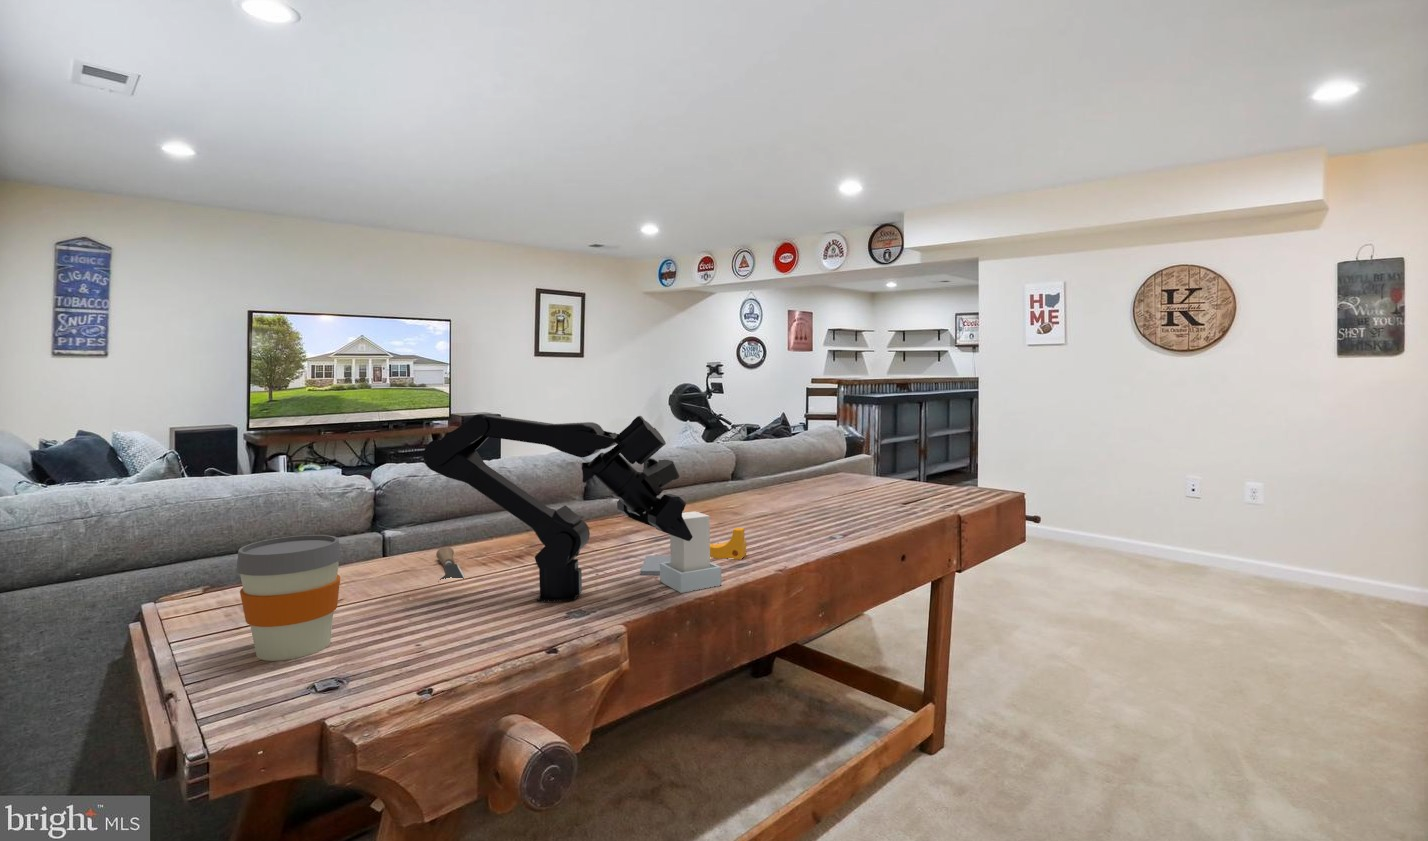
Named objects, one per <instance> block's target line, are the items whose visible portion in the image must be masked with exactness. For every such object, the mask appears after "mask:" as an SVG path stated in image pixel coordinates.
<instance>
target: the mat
mask: <svg viewBox="0 0 1428 841" xmlns="http://www.w3.org/2000/svg"><path fill="white" fill-rule="evenodd" d="M665 562H670V555H663V554H662V555H646V556H645V558H644V560H643V564H642V565H641V568H640V572H639V574H640V576H660V563H665Z"/></svg>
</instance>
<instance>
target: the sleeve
mask: <svg viewBox="0 0 1428 841" xmlns="http://www.w3.org/2000/svg"><path fill="white" fill-rule="evenodd" d="M659 582H661V583H662V584H664V585H665V586H668V587H669V588H671V589H673V590H675V591H677V592H678V593H680V594H682V593H683V594H684V593H689V592H693V590H695V591H698V590H699V589H700V590H704V588H706V589H710V587H711V588H715V587H714V586H716V587H720V585H721V586H722V566H720V565H718V564H715V563H713V562H711V561H710V568H707V569H701V570H695V571H689V572H683V573H681V572H679V571H677V570H675V569H673V568H671V565H670V562H665V563H660V575H659ZM700 590H699V591H700Z"/></svg>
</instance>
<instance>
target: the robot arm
mask: <svg viewBox="0 0 1428 841" xmlns="http://www.w3.org/2000/svg"><path fill="white" fill-rule="evenodd" d="M489 438H493V439H499V440H509V441H514V442H522V443H528V444H529V443H530V444H537V445H545V446H548V447H550V448H553V449H555V450H558V451H559V452H562V453H565V454H569V455H572V456H573V457H577V458H587V457H590V456H592V455H595V454H597V453H599V452H600V453H599V454H598V455H597V456H595V457H594V458H593V459H592V460H590V461H588V462H581V471H582V472H581V473H582V474H581V476H582V477H581V480H582V483H583V484H585V483H587V482H588V481H590V480H591V479H592V478H593V477H595V478H596V479H597V480H598V481H599V482H600V483H602V484H603V486H605V487H606V488H607V490H608V491H609V492H611V493H610V495H611V496H613V498H615V499H618V500H617V501H616V509H617V510H618V511H619V512H620V513H621V514H622V515H623V516H626V517H627V518H629V519H632V520H634V521H637V522H639V523H642V524H644V525H647V526H650V527H652V528H655V530H657V531H659V532H662V533H664V534H667V535H668V534H669V536H670V535H673V536H676V537H678V538H681V539H684V540H687V541H690V540H691V539H692V534H691V533H690V531H689V529H688V527H687V525H686V523H685V521H684V519H683V517H682V513H684V510H685V508H686V504H687V503H686V501H684V500H683V499H682V498H681V497H680V496H679V495H675V494H673V493H665V494H663V495H662V496H661V498H659V497H658V496H660V495H661V494H662V492H663V491H664V489H663V488H662V487H664V486H666V485H668V484H670V483H671V482H672V481H673V480H677V479H679V478H680V474H679V471H678V469H677V468H676V467H677V466H676V465H675V463H674V461H673V460H670V459H658V461H657V460H655V459H654V458H652V457H653V455H655V454H656V453H658V451H659V450H661V449H662V448H663V447H664V446H665V445H666V441H665V438H664V437H663V436H662V434H661V433H660V432H659V431H658V429H657V428H656V427H653V426H652V425H651V424H650V423H649V422H648V421H647V420H645V418H643V416H641V415H638V416H636V417H635V418H634V419H633V420H632V421H631V423H630V424H628V426H626V427H625V428H624V429H623V430H622V431H621V432H619V433H616V432H611V431H606V430H604V428H602V426H601V425H600V424H598V423H595V422H590V421H588V422H587V421H586V422H568V423H566V422H564V423H552V422H551V423H550V422H544V421H535V420H530V419H529V420H528V419H521V418H514V417H507V416H501V415H494V414H492V413H479V414H478V413H477V414H475V415H472V417H470V419H469V420H467V421H466V422H464V423H463V424H461V425H460V426H459V427H457V428H455V429H454V430H452V431H451V432H449V433H447V434H446V435H444V436H443V437H442V438H437V439H433V440H431V441H430V442H428V444H427V445H426V446H425V448H424V450H423V460H424V461H423V462H424V465H425V466H426V467H427V468H428V469H429V470H431V471H432V472H434V473H436V474H439V475H441V476H443V477H445V478H449V479H452V480H455V481H459V482H463V483H465V484H467V485H469V486H470V487H472V488H473V489H475V490H476V491H477V492H478V493H480V494H482V495H483V496H485V497H487V499H489V500H491V501H492V502H494V503H495V504H496V505H498V506H499V507H501V508H502V509H503V510H505V511H506V512H508V513H510V514H511V515H513V516H514V517H515V518H516V519H518V520H519V521H522V522H523V523H524V524H525V525H527V526H528V527H530V528H531V529H532V530H533V531H534V533H535V535H536V537H537V538H538V539H539V542H540V543H542V544H543V546H544V547H543V548H541V549H540V551H538V552H537V554H535V555H534V560H535V563H536V564H537V568H538V569H539V570H538V571H539V572H538V574H539V577H538V578H539V596H538V597H537V598H536V600H537V602H540V603H541V602H543V603H544V602H545V603H547V602H575V601H576V600H577V597H578V596H579V595H580V593H581V592H582V591H583V585H582V584H583V582H582V576H583V574H582V571H583V570H582V568H581V567H579V559H577V557H578V556H579V555H580V552H581V550H582V549H583V548H584V547H585V546H586V545H587V544H588V542H589V540H590V535H591V534H590V529H589V528H590V527H589V526H588V524H587V523H586V521H584V520H583V519H584V518H585V517H584V516H582V515H579V514H577V513H575V512H574V511H573V510H572V509H571V508H570V507H568V506H567V505H563V506H561V507H559V508H558V509H553V508H551V507H548V506H547V505H545V504H544V503H543V502H541V501H540V500H538V499H537V498H535V497H534V496H532V495H531V494H529V493H528V492H527V491H525V490H524V489H523V488H521V487H519V486H518V485H517V484H515V483H514V482H512V481H511V480H509V479H508V478H506V477H504V475H502V474H501V473H499V472H498V471H496V470H494V469H493V468H492V467H490V466H489V465H487V464H486V463H485V462H484V460H483V459H482V457H481V455H480V453H479V452H478V451H477V450H478V449H479V448H480V447H481V446H482V445H483V444H484V443H485V442H486V441H487V440H488V439H489ZM611 447H612V448H611ZM608 448H611V449H610V450H608V451H607V452H605V453H604V452H601V450H605V449H608ZM635 463H637V464H638V465H641V466H642V465H643V469H642V471H637V470H636V469H635V468H634V467H633V466H632V465H634V464H635Z"/></svg>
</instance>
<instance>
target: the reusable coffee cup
mask: <svg viewBox="0 0 1428 841" xmlns="http://www.w3.org/2000/svg"><path fill="white" fill-rule="evenodd" d="M341 552H342V551H341V546H340V541H339V538H338V537H337V536H335V535H329V534H328V535H327V534H304V535H303V534H302V535H292V536H284V537H277V538H271V539H266V540H260V541H256V542H252V543H249V544H246V545H243V546H241V547H240V548H239V549H238V551H237V562H236V563H237V564H236V573H238V574H239V576H240V580H241V585H242V586H241V587H242V588H241V589H240V591H239V595H240V600H241V604H242V611H243V615H244V620H245V623H246V624H247V625H249V627H250V630H251V636H252V640H253V646H254V650H255V654H256V658H258V659H259V660H262V661H268V662H269V661H273V662H276V661H286V660H292V659H298V658H302V657H303V658H304V657H306V656H310V655H312V654H316V653H317V652H319V651H322V650H324V649H325V648H327V647H328V646H329V645H330V644H331V640H332V639H331V638H332V630H333V629H332V628H333V620H334V612H335V611H336V610H337V609H338V604H339V603H338V602H339V593H340V592H339V591H340V584H341V576H340V575H339V574H338V572H339V563H340V560H342V553H341Z"/></svg>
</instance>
